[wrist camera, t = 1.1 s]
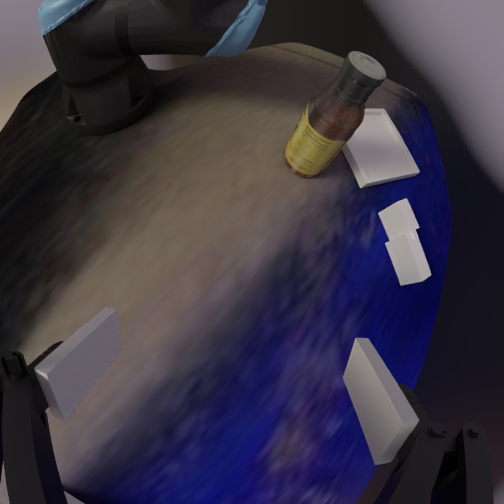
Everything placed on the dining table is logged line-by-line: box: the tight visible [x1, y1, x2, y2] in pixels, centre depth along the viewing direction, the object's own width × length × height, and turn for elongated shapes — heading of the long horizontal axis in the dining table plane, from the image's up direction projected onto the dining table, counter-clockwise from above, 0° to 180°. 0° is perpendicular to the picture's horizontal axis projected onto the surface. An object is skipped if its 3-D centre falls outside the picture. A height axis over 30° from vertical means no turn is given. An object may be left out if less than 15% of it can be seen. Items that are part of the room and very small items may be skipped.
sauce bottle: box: [284, 51, 386, 178], centre depth 28 cm, size 7×6×20 cm
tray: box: [342, 109, 420, 188], centre depth 41 cm, size 14×14×2 cm
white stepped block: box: [378, 198, 431, 285], centre depth 36 cm, size 15×11×6 cm
